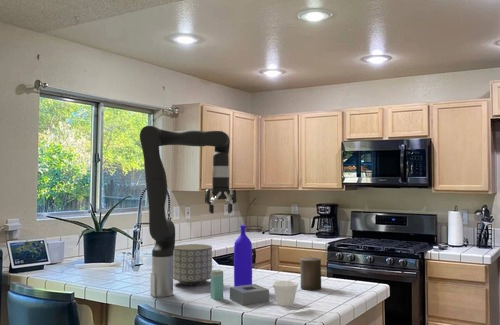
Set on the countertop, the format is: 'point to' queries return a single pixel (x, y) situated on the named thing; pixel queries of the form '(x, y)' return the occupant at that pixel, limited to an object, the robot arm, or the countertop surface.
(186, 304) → the countertop surface
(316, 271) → the pillar candle
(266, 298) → the grey socket block
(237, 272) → the bottle
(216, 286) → the plug
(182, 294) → the countertop surface
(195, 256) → the planter
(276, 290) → the cup
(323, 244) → the countertop surface
